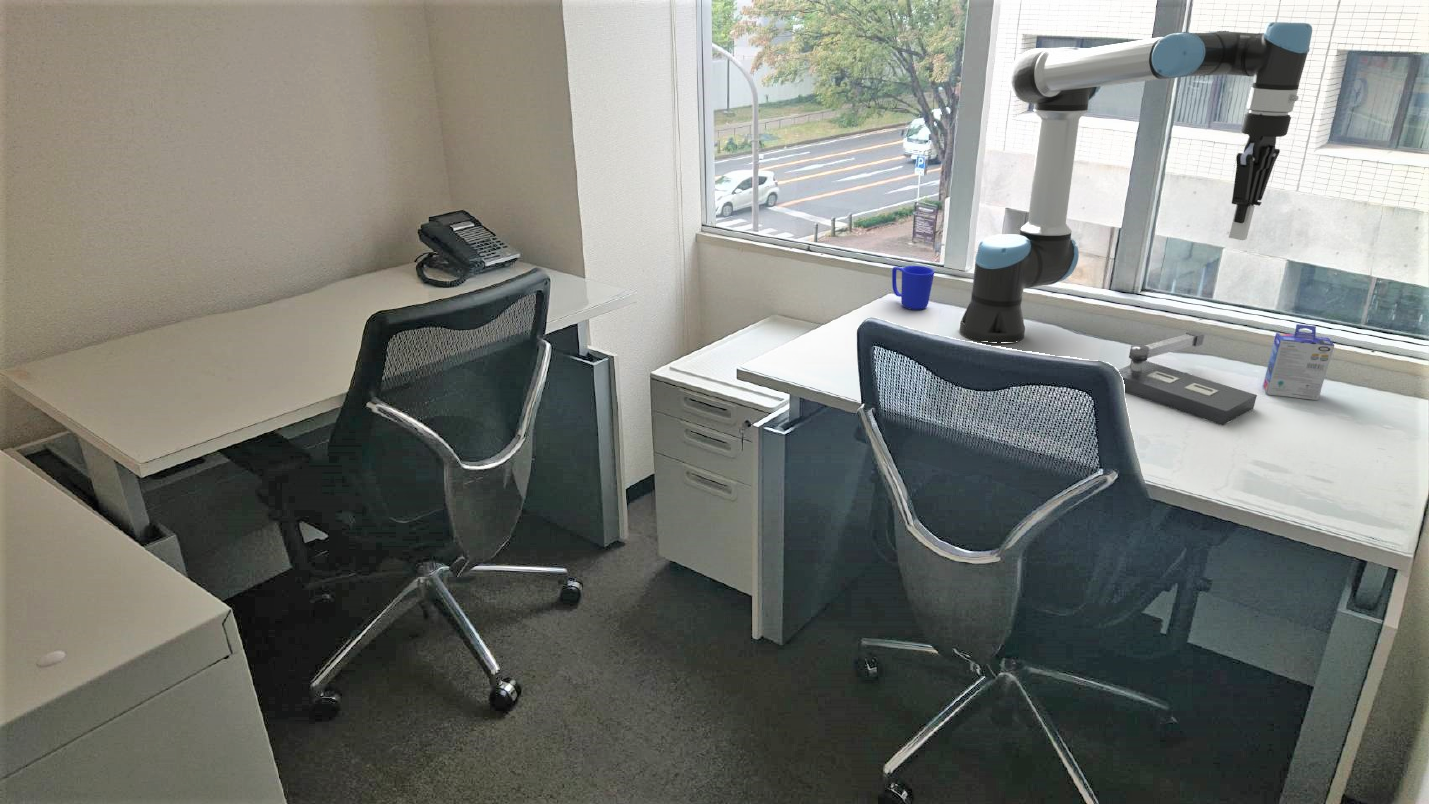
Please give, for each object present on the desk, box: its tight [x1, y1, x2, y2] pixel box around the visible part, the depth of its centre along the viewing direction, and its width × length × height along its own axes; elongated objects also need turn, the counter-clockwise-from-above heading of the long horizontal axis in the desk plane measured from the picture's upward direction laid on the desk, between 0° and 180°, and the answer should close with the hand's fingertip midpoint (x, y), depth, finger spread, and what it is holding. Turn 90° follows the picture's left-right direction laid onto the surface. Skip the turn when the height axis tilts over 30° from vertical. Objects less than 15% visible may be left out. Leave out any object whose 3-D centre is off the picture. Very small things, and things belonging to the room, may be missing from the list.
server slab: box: [1118, 359, 1258, 426], centre depth 189 cm, size 24×13×5 cm, turn 38°
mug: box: [891, 265, 935, 311], centre depth 242 cm, size 8×12×10 cm
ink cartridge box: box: [1262, 323, 1335, 401], centre depth 190 cm, size 10×6×14 cm, turn 72°
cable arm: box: [1128, 330, 1205, 361], centre depth 199 cm, size 22×4×3 cm, turn 121°
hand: (1237, 238), depth 180 cm, fingers closed
